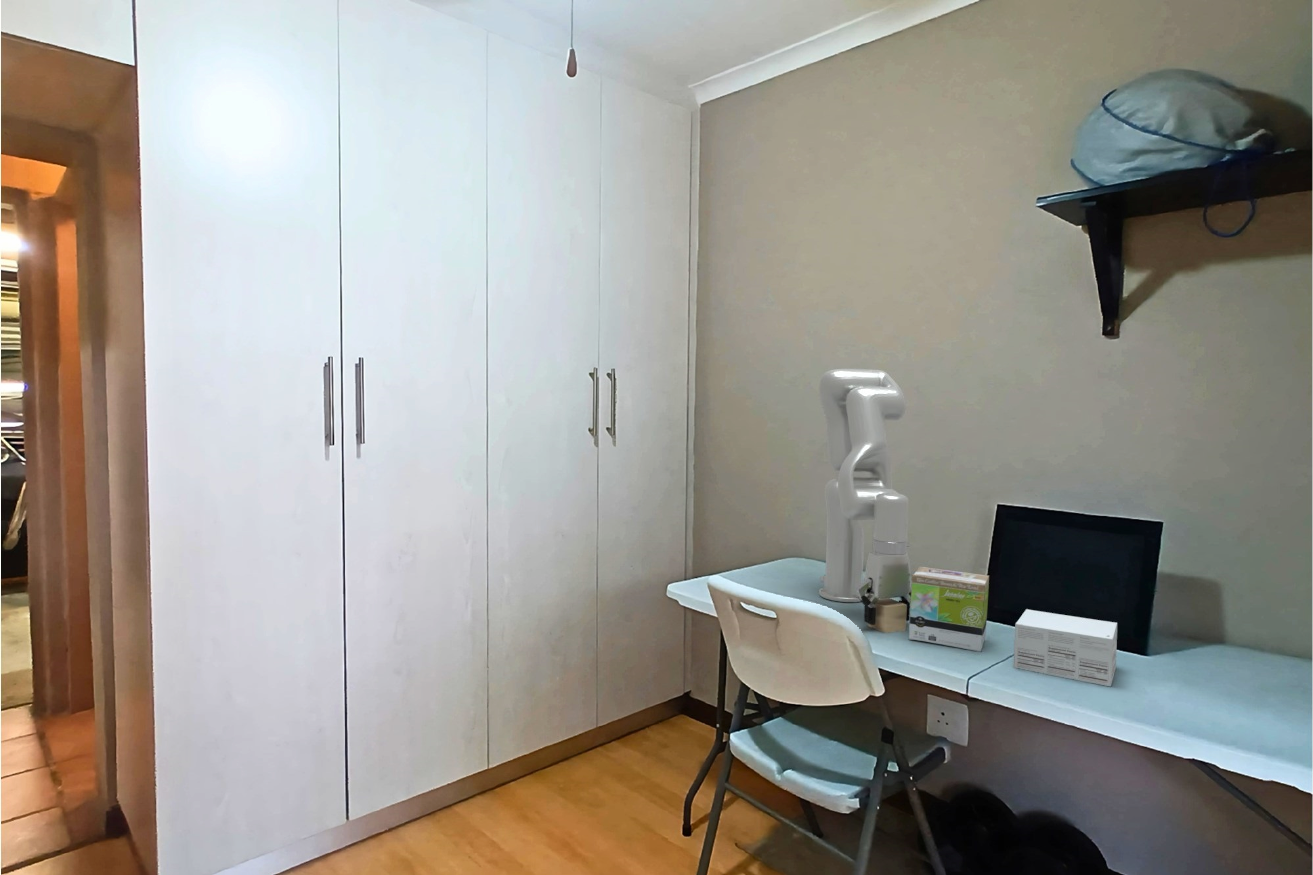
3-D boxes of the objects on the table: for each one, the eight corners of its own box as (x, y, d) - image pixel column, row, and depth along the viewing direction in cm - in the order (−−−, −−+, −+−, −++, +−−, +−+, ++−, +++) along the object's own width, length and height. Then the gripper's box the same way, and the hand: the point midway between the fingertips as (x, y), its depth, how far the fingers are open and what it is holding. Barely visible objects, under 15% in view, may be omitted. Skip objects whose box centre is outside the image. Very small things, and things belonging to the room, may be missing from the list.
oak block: (867, 625, 178) (868, 600, 178) (888, 623, 181) (889, 598, 180) (884, 633, 173) (885, 607, 172) (905, 630, 175) (906, 604, 175)
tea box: (907, 640, 168) (910, 574, 167) (915, 628, 176) (918, 565, 176) (982, 653, 161) (985, 583, 160) (986, 639, 169) (989, 573, 169)
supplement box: (1116, 668, 153) (1118, 621, 153) (1111, 688, 143) (1114, 638, 142) (1023, 650, 163) (1025, 607, 162) (1012, 668, 152) (1014, 621, 152)
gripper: (908, 542, 182) (905, 613, 183) (848, 546, 176) (845, 620, 177) (931, 548, 175) (928, 622, 176) (869, 553, 169) (866, 629, 170)
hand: (886, 621), depth 177 cm, fingers open, 9 cm apart
